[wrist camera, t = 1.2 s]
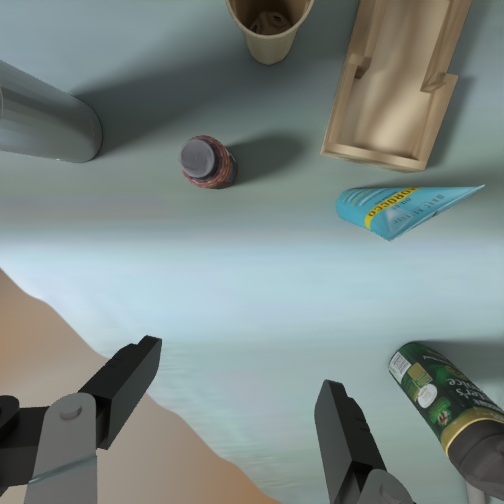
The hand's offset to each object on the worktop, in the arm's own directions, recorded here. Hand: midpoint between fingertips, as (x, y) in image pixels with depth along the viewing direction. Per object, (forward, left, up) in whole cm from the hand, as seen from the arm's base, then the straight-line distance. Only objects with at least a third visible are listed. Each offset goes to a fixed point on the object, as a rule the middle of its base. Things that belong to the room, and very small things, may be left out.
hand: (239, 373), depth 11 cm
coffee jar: (+31, -14, -29) cm, 45 cm away
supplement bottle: (-9, +11, -29) cm, 32 cm away
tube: (+12, +10, -29) cm, 33 cm away
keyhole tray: (+12, +26, -28) cm, 40 cm away
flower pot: (-5, +29, -29) cm, 41 cm away
